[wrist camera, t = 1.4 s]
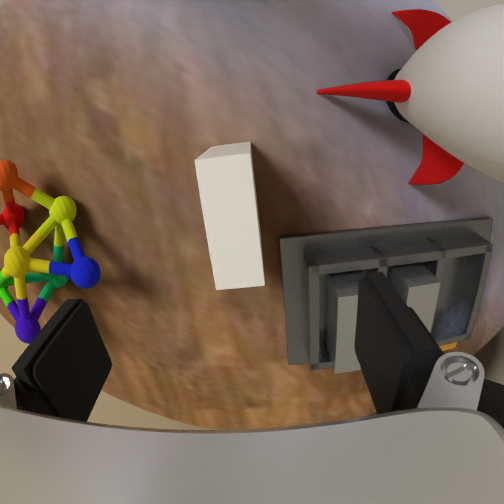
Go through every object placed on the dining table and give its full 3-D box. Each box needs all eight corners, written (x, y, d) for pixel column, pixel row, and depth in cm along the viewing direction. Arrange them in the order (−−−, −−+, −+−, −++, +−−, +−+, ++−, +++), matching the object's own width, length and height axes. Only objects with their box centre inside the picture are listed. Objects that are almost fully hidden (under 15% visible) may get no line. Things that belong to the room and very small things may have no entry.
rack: (279, 236, 27) (285, 266, 22) (489, 217, 26) (523, 237, 21) (288, 361, 33) (293, 400, 28) (466, 328, 32) (488, 357, 27)
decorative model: (27, 130, 19) (100, 307, 21) (69, 153, 28) (129, 287, 30) (-64, 214, 18) (-5, 366, 20) (-14, 216, 27) (37, 338, 29)
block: (211, 146, 24) (194, 160, 17) (250, 141, 24) (250, 153, 17) (225, 241, 27) (216, 289, 20) (261, 237, 27) (264, 285, 20)
